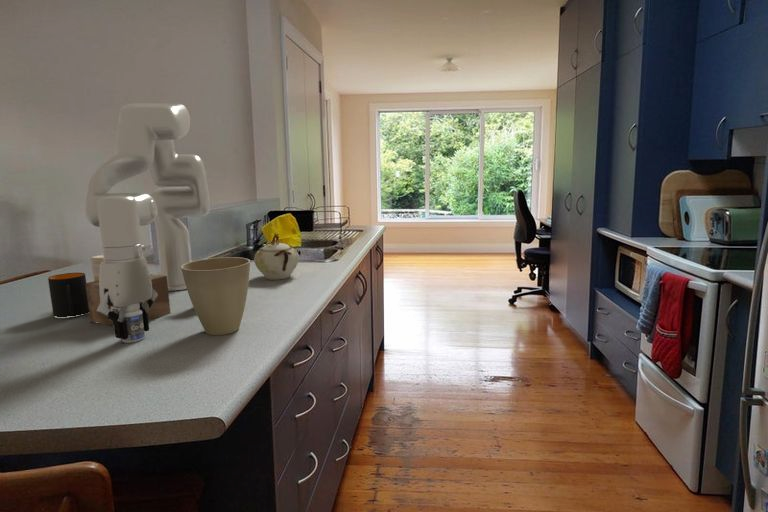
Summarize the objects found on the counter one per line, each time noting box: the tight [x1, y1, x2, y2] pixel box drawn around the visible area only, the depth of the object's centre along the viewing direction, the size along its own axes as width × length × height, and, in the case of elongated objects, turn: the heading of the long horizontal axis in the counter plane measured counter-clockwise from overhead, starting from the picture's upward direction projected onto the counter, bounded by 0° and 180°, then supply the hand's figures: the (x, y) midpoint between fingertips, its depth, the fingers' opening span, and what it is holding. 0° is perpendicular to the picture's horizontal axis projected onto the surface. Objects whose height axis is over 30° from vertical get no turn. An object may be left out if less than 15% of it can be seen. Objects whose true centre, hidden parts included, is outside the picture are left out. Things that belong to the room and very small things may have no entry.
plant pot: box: [181, 256, 251, 336], centre depth 114 cm, size 15×15×16 cm
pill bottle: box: [120, 303, 146, 344], centre depth 110 cm, size 5×5×8 cm
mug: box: [47, 272, 89, 317], centre depth 130 cm, size 8×12×10 cm
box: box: [85, 273, 171, 326], centre depth 127 cm, size 13×13×10 cm
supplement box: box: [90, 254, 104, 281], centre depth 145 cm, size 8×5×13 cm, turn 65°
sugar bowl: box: [253, 233, 300, 281], centre depth 170 cm, size 20×15×15 cm
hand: (132, 333), depth 111 cm, fingers closed on pill bottle, 4 cm apart
